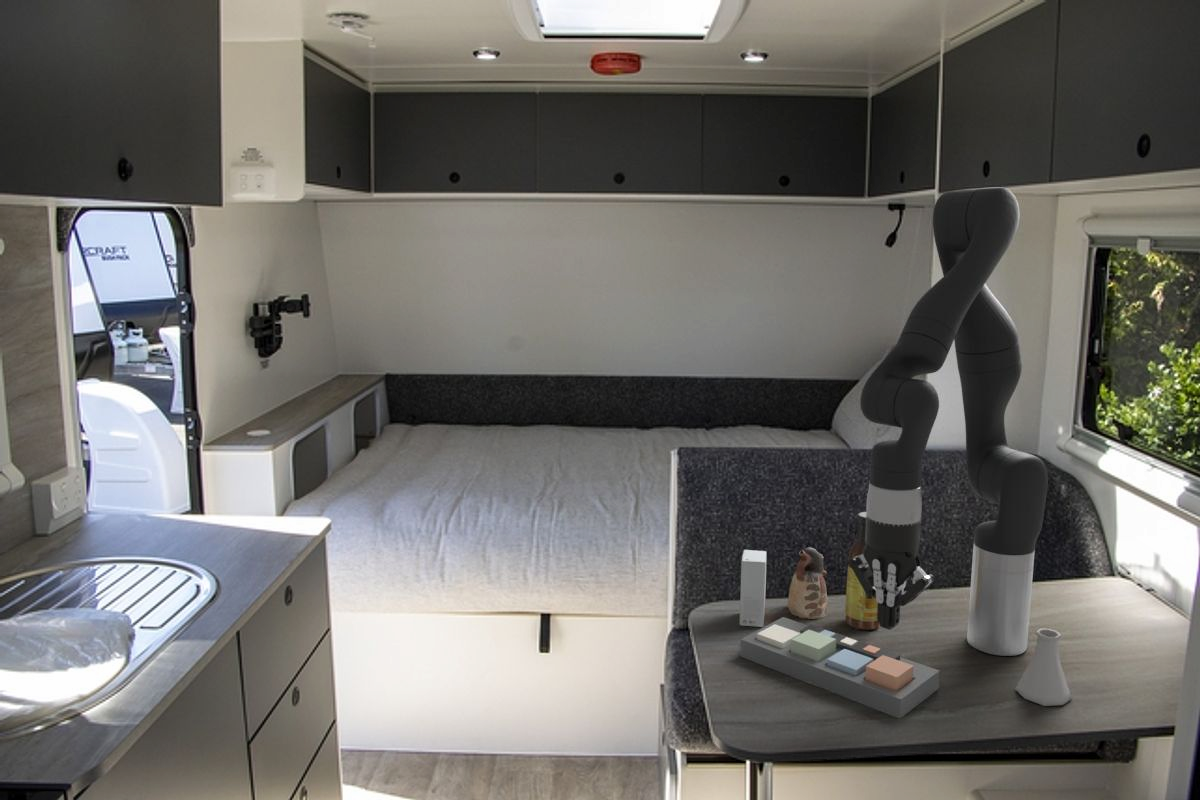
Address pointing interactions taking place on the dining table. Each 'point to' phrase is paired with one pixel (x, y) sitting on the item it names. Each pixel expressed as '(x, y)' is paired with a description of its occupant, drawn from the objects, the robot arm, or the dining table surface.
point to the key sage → (813, 645)
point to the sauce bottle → (859, 589)
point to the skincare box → (753, 588)
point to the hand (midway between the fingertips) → (887, 626)
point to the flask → (1045, 673)
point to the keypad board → (838, 680)
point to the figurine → (808, 587)
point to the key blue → (849, 662)
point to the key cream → (777, 636)
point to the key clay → (889, 673)
